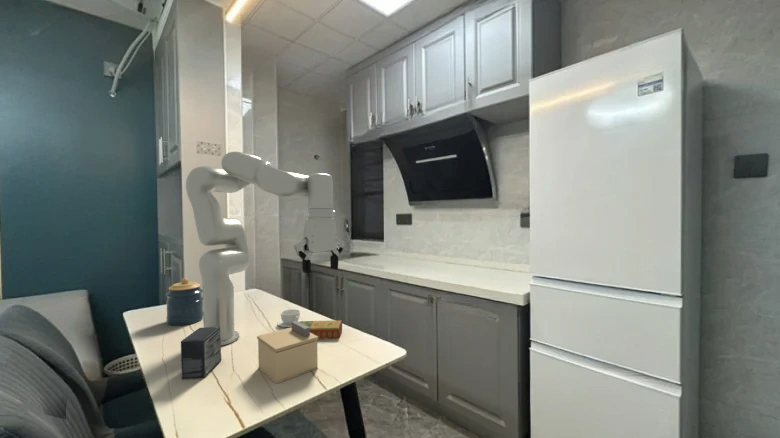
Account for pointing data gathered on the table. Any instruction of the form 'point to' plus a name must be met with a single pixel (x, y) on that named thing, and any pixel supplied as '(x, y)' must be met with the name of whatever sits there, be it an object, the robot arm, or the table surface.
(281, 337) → the box lid
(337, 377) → the table surface
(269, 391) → the table surface
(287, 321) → the teacup
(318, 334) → the carton
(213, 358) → the small box
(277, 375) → the shipping box
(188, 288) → the canister
